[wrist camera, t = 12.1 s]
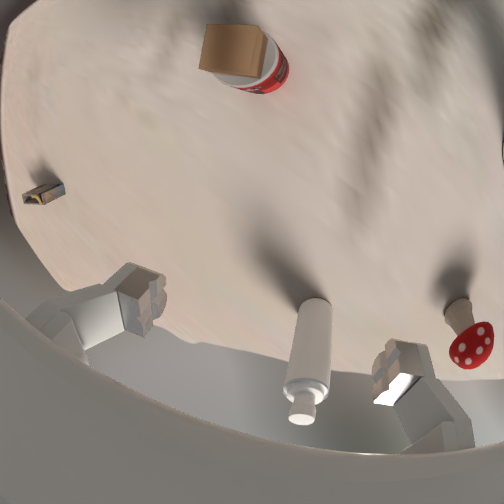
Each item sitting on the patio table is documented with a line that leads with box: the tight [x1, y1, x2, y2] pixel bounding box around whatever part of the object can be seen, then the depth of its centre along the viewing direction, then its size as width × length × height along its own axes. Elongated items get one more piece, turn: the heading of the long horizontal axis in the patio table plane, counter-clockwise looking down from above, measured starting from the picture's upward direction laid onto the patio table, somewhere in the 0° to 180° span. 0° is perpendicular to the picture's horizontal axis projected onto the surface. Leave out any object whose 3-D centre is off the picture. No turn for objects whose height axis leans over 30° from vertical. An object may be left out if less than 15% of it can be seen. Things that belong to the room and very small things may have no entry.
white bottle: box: [283, 298, 333, 425], centre depth 40 cm, size 7×7×25 cm
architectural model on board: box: [22, 184, 65, 205], centre depth 50 cm, size 11×3×10 cm, turn 89°
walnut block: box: [199, 24, 268, 79], centre depth 22 cm, size 5×5×5 cm
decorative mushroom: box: [445, 298, 494, 369], centre depth 36 cm, size 10×9×15 cm
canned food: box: [213, 32, 289, 94], centre depth 28 cm, size 8×8×11 cm
